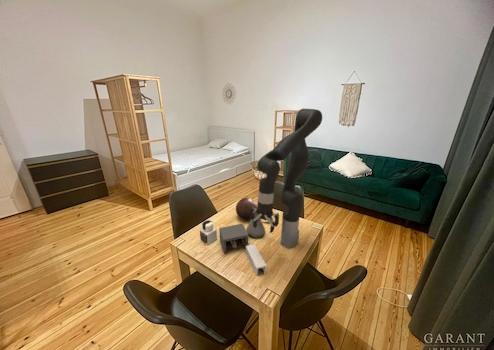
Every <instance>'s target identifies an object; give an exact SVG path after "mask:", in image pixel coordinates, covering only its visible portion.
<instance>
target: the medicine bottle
mask: <svg viewBox="0 0 494 350" xmlns="http://www.w3.org/2000/svg"><path fill="white" fill-rule="evenodd" d="M201 225H202V228H201V229H199V236H200V237H199V239H200V241H202V242H203V243H205V245H210V244H211V243H213V242H214V241H216V240H218V235H217V233H218V232H217V229H216V228H215V227H214V223H213V220H209V219H208V220H205V221H203V222H202V224H201Z"/></svg>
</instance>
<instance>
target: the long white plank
mask: <svg viewBox="0 0 494 350" xmlns="http://www.w3.org/2000/svg"><path fill="white" fill-rule="evenodd" d="M259 251H260V250H259V249H258V248H257V246H256V244H255V243H254V244H248V246H246V247H245V255H246V256H247V259H248V261H249V263H250V266H251V267H252V270H253V272H254V274H255V276H259V269H261V270H262V272H263V273H264V274H267V264H266V261H265V260H264V258H263V257H262V255H261V253H260V252H259Z"/></svg>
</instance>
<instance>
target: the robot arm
mask: <svg viewBox="0 0 494 350" xmlns="http://www.w3.org/2000/svg"><path fill="white" fill-rule="evenodd" d="M322 121H323V113H322V111H321V110H319V109H314V108H300V109H299V110H298V112H297V113H296V116H295V120H294V122H295V123H294V130H293V131H294V132H292V133H289V134H287V136H285V137H283V138H282V139H281V140H280V141H279V142H278V144H276V145H275V147H274V148H273V149H272V150H270V151H269V152H267V153H265V154H264V155H263V156H262V157H261V158H260V159H259V160H258V161H257V170H258V171H259V172H260V173H263V174H265V177H262V178H261V179H260V180H259V183H258V184H259V185H258V194H257V203H256V205H257V209H256V208H255V207H253V208H252V209H251V212H250V219H249V220H251V219H252V220H253V226H254V228H256V227H257V219H258V218H260V219H261V220H264V221H266V222H268V223H270V224H269V225H270V228H269V229H270V230H269V233H270V234H272V233H273V232H274V231H275V226H276V227H277V226H278V225H280V224H279V223H280V214H279V212H277V213H274V212H273V210H274V201H275V187H276V186H275V184H276V182H277V180H278V177H279V174H280V171H281V168H280V167H281V166H280V163H279V162H283V161H285V160H286V159H287V158H288V156H289V160H288V161H289V162H288V168H287V172H286V178H285V182H284V185H283V187H282V191H281V195H280V200H281V203H282V204H283V205H285V206H286V207H288V209H285V210H284V211H282V217H281V231H280V232H281V233H280V245H282V246H283V247H284V248H287V249H292V248H293V249H294V248H295V247H296V246H297V245H299V238H300V229H299V226H300V225H299V224H300V217H301V215H302V210H303V205H304V197H303V195H302V194H301V193H299V192H298V191H296V190H295V189H296V185H297V181H298V180H299V179H300V177H301V176H302V175H303V174H304V173H305V172H306V170H307V167H308V164H309V159H310V153H309V149H308V146H307V142H306V139H307V137H309V136H310V135H311V134H312V133H314V131H316V130H317V129H318V128H319V126H320V125H321V124H322ZM255 211H256V212H257V214H258V215H257V216H256V217H254V212H255Z"/></svg>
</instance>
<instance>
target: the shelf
mask: <svg viewBox="0 0 494 350" xmlns="http://www.w3.org/2000/svg"><path fill="white" fill-rule="evenodd" d="M218 230H219V231H218V232H219V242H220V246H221V248H222V252H223V254H224V255H227V246H226V245H227V243H226V242H230V244H231V247H232V248H237V243H236V240H240V239H241V241H242V243H243V245H244V247H245V248H246V246H248V245H249V234H248V232H247V228H246V227H245V226H244V224H243V223H238V224H234V225H228V226H222V227H219V228H218Z"/></svg>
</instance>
